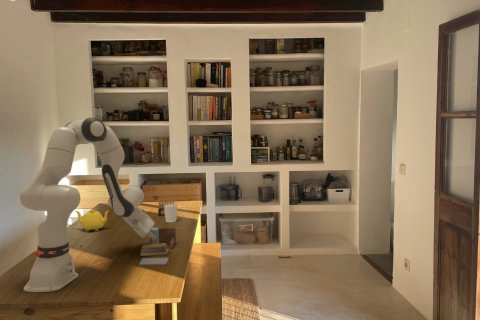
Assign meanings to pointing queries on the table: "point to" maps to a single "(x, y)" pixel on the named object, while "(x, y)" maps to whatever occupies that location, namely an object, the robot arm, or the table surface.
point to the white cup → (170, 212)
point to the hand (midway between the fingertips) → (156, 236)
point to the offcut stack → (154, 249)
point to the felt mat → (153, 261)
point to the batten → (156, 233)
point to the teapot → (92, 220)
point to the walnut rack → (167, 236)
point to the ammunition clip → (161, 208)
